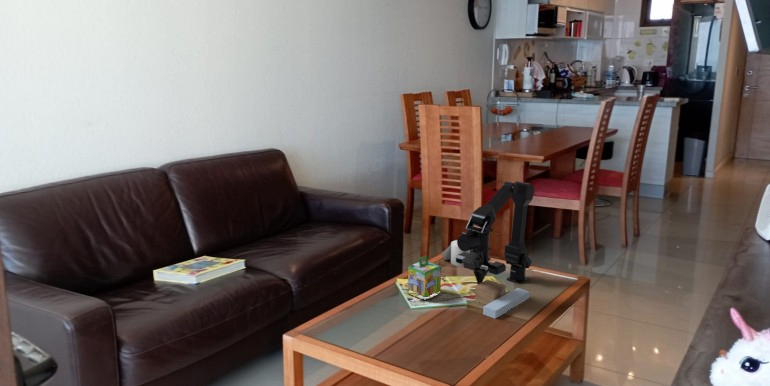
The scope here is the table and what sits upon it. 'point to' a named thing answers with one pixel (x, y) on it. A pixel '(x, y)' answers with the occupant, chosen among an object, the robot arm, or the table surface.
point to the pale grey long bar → (505, 303)
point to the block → (489, 291)
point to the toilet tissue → (453, 253)
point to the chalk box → (424, 277)
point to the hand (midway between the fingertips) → (479, 284)
